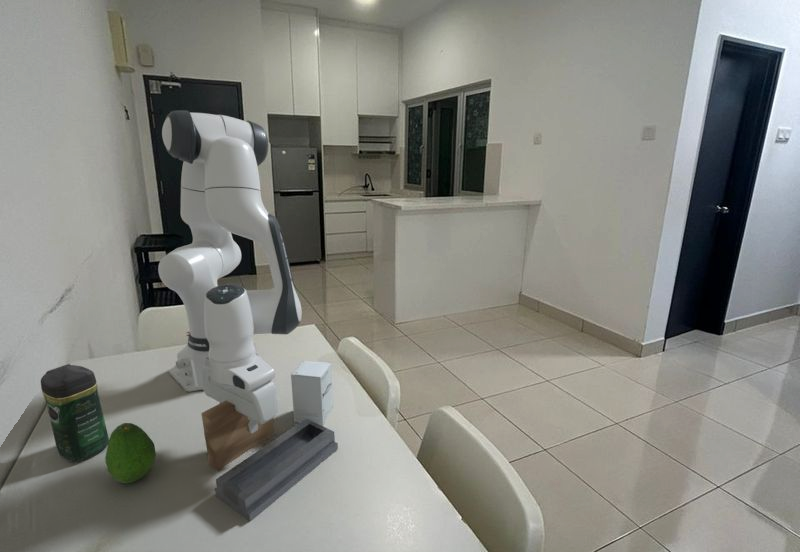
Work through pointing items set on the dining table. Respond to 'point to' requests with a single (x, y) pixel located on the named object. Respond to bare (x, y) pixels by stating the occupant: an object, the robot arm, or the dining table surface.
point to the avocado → (129, 453)
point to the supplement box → (312, 391)
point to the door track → (275, 468)
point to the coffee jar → (75, 412)
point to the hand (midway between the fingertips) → (241, 424)
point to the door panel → (230, 434)
